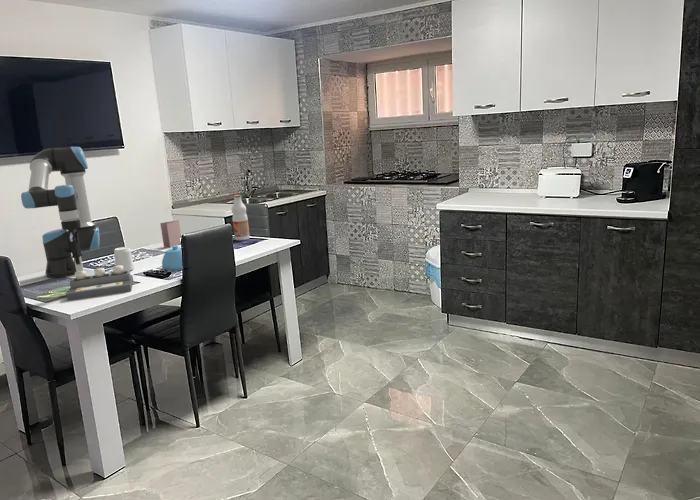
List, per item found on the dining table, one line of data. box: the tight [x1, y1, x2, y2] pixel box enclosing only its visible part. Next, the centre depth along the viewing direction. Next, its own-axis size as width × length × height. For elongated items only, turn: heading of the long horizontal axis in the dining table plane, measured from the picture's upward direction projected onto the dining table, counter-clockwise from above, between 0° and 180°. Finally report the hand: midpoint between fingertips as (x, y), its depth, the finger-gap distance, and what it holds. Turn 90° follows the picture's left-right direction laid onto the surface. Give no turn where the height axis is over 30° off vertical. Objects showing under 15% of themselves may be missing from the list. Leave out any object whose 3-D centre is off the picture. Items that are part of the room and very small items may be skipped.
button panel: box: [65, 270, 134, 301], centre depth 242 cm, size 18×26×6 cm
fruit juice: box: [231, 194, 250, 241], centre depth 332 cm, size 9×9×28 cm
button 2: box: [112, 265, 124, 274], centre depth 246 cm, size 4×4×3 cm
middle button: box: [93, 267, 107, 277], centre depth 244 cm, size 4×4×3 cm
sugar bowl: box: [161, 245, 183, 272], centre depth 274 cm, size 15×15×12 cm
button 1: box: [74, 269, 88, 279], centre depth 241 cm, size 4×4×3 cm
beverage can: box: [113, 246, 135, 272], centre depth 274 cm, size 8×8×12 cm
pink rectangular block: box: [159, 219, 182, 249], centre depth 328 cm, size 11×7×15 cm, turn 124°
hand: (79, 270), depth 241 cm, fingers closed
